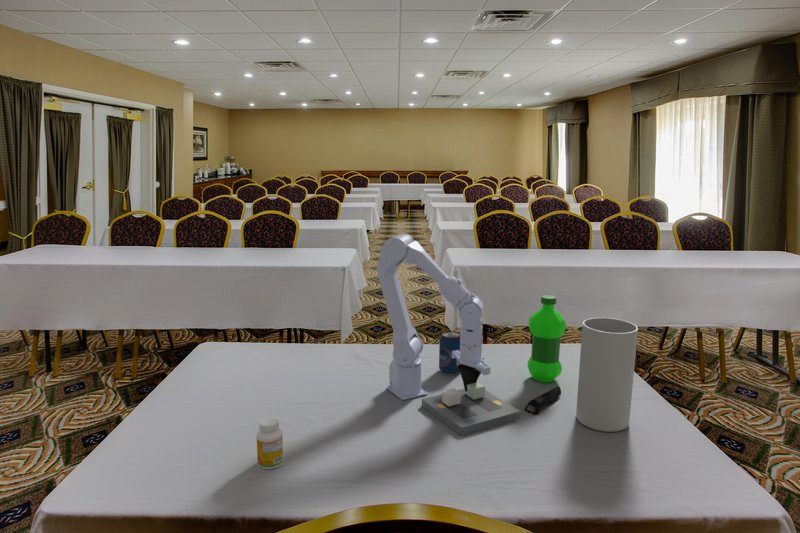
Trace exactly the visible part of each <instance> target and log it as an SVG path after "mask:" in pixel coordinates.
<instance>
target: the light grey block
mask: <svg viewBox="0 0 800 533" xmlns="http://www.w3.org/2000/svg"><path fill="white" fill-rule="evenodd" d="M458 390H459V389H455V388H454V387H453V388H450V389H449V388H448V389H445V390H442V393H441V394H442V402H443V403H445V404H446V405H447V406H452V405H456V404H460V401H461V392H459V391H458Z"/></svg>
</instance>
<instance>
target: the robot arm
mask: <svg viewBox="0 0 800 533" xmlns="http://www.w3.org/2000/svg"><path fill="white" fill-rule="evenodd" d="M403 261H404V262H403ZM402 263H404V264H409V265H417V266H418V268H419V269H421V270H422V271H423V272H424V273H425V274H426V275H427V276H428V277H430V279H432V281H434V282H435V283H436V284H437V285H438V292H439V294H440V295H441V296H442V297H443V298H444V299H445V300H446V301H448V302H449V304H450V305H451V306H452V307H453V308H454V309H455V310H457V311H458V316H459V319H460V328H459V329H460V330H459V333H460V351H459V350H455V351H452V358H453V359H455V358H456V359H457V360H458V361H459V362H460V363H461V365H458V366H457V368H458V370H459V374H460V376H461V379H462V384H463V389H465V391H466V392H467V385H468V384H472V383H477V382H478V380H479V378H480V376H481V375H483V376H487V375H491V366H490V365H488V364H487V363H486V362H485V356H483V355H482V350H483V348H482V346H483V316H482V315H483V314H484V310H485V304H484V301H483V300H482V299H481V297H479V296H477V295H476V294H474V292H470V291H469V290H468V289H467V288H466V287H465V286H464V285H463V280H462V279H461V278H456V276H449V275H447V274H446V272H444V270H443V269H442V268H441V267H440V265H438V263H437V262H436V261H434V259H433V258H432V256H430V254H428V253H427V251H426V250H425V249H424V248H423V247H422V245H421V244H420V242H418V241H417V240H414V238H413V237H412V236H411V235H410V234H408V233H406V232H405V233H404V232H401V233H398V234H396V236H393V237H391V238H388V239H387V240H386V241H385V242H384V243H383V245H382V246H381V247H380V248H379V257H378V262H377V265H376V273H377V278H378V282H379V284H380V289H381V291H382V296H383V299H384V302H385V306H386V310H387V314H388V316H389V320H390V324H391V328H392V331H393V334H392V335H393V336H392V345H393V351H392V357H393V359H392V360H391V362H390V364H389V371H388V372H389V373H388V374H389V375H388V378H389V381H388V384H389V385H387V386H386V389H387V390H388V391H390V392H391V393H393V394H394V395H395V396H396V397H397V398H399V399H400V400H402V401H406V400H411V399H414V398H418V397H423V396H426V395H428V392H427V391H426V390H424V389H423V388H422V359H421V357H420V354H421V353H422V351H423V349H424V342H423V340H422V338H421V337H419V334H418V332H417V329H416V328H415V327H414V326H413V325H412V323H411V322H412V321H411V318H410V314H409V311H408V307H407V304H406V300H405V296H404V292H403V289H402V285H401V282H400V278H399V276H398V270H399V268H400V266H401V265H402Z"/></svg>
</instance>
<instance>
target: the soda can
mask: <svg viewBox="0 0 800 533" xmlns="http://www.w3.org/2000/svg"><path fill="white" fill-rule="evenodd" d="M438 348H439V353H438V356H439V357H438V358H439V359H438V368H439V370H440V372H441V373H442V374H443V373H444V374H443V375H446V374H447V375H446V376H456V375H458V373H459V374H460V372H459V370H458V368H457V366H458V365H461V363H460V362H459V361H458V360H457V359H456V358H455V359H453V358H452V351H455V350H459V351H460V331H459V332H458V331H454V330H448V331H447V330H446V331H443V332H441V336H440V337H439V347H438ZM455 374H456V375H455Z"/></svg>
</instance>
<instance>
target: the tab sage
mask: <svg viewBox="0 0 800 533" xmlns="http://www.w3.org/2000/svg"><path fill="white" fill-rule="evenodd" d="M485 390H486V385H484V384H483V383H480V381H477V382H476V383H472V384H468V385H467V396H469V397H471V398H472V399H478V398H482V397H485Z"/></svg>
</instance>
